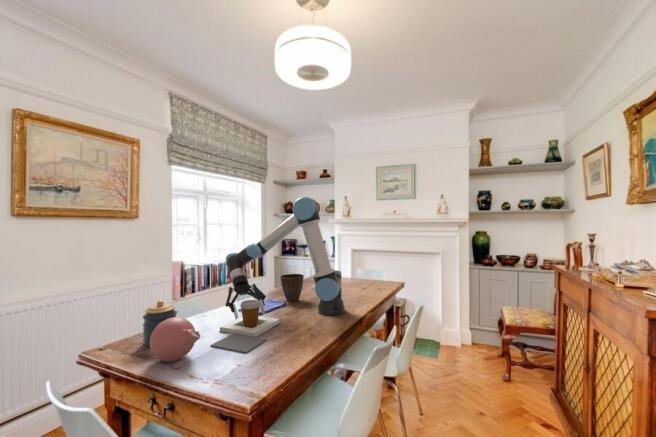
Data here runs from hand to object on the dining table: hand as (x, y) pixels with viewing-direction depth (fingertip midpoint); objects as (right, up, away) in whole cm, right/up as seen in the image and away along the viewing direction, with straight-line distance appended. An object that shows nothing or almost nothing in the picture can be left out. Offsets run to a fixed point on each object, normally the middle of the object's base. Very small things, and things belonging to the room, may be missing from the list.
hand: (250, 314), depth 147 cm
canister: (-35, -7, -16) cm, 39 cm away
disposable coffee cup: (0, -6, +1) cm, 6 cm away
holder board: (0, -6, +1) cm, 6 cm away
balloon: (-19, -6, -34) cm, 39 cm away
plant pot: (+14, -6, +48) cm, 51 cm away
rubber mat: (0, -6, -19) cm, 20 cm away
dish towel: (-1, -7, +33) cm, 34 cm away
